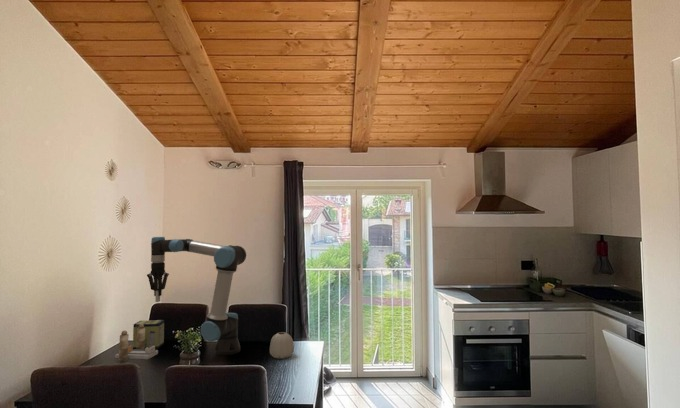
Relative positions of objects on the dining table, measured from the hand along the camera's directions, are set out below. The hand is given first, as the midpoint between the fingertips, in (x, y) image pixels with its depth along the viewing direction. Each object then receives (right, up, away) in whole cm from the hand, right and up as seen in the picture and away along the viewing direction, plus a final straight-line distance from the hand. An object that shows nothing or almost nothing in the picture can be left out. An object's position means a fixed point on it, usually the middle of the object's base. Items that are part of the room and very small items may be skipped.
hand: (157, 301), depth 233 cm
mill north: (-13, -30, -15) cm, 35 cm away
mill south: (-11, -31, +1) cm, 33 cm away
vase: (+76, -30, -10) cm, 82 cm away
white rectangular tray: (-9, -30, -7) cm, 32 cm away
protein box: (-11, -32, +11) cm, 35 cm away
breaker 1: (-15, -28, -6) cm, 32 cm away
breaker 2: (-1, -28, -8) cm, 29 cm away
